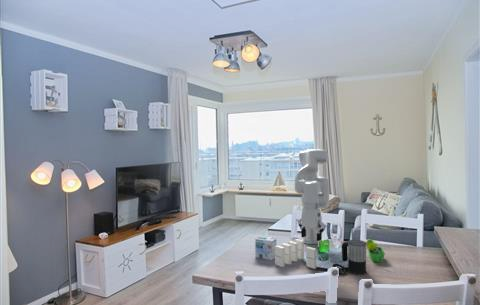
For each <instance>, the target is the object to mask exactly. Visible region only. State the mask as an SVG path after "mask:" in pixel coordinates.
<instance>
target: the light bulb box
mask: <svg viewBox="0 0 480 305" xmlns="http://www.w3.org/2000/svg"><path fill="white" fill-rule="evenodd" d="M275 246H277V237H269V236H263V235H260V236H258V237H257V238H255V247H254V248H255V252H254V253H255V254H254V255H255V258H259V259H264V260H269V261H272V260H275Z"/></svg>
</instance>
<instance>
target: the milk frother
mask: <svg viewBox="0 0 480 305" xmlns="http://www.w3.org/2000/svg"><path fill="white" fill-rule="evenodd" d="M341 260H342V262H344V263H345V262H347V267H345V266H344V265H342V264H339V263H337V262H335V263H333V264H332V268H333V267H337V268H339V274H338V275H346V274H347V272H349V273H351V274H354V275H366V274H367V243H366V241H364V240H360V239H348V240H347V241H344V242H342V244H341Z"/></svg>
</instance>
